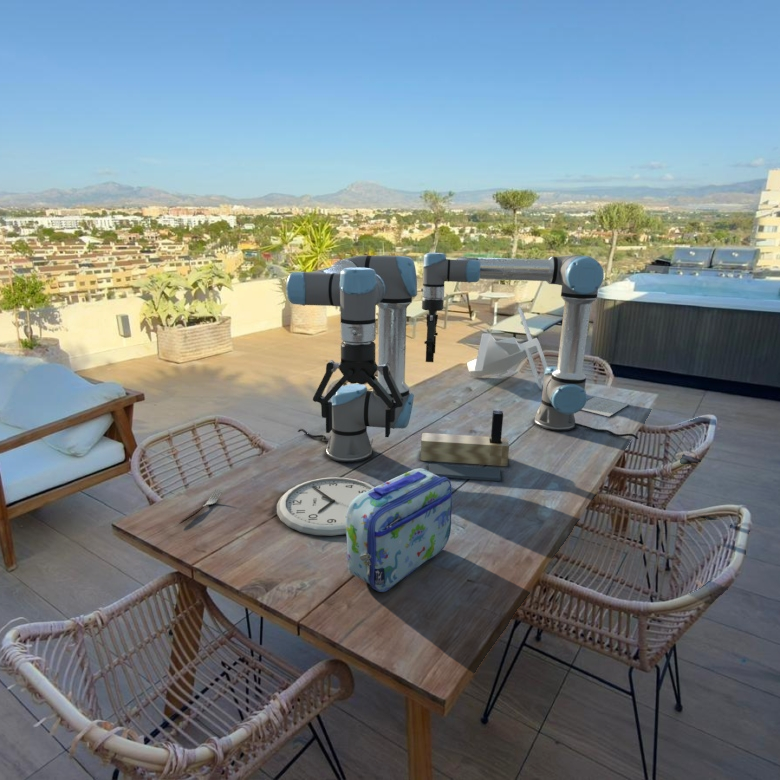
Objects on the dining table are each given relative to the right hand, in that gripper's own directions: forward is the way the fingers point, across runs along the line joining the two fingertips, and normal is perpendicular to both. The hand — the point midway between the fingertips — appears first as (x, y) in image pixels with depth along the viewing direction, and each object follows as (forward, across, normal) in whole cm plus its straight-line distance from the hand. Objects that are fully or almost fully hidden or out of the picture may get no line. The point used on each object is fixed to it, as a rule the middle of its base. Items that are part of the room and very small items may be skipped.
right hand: (430, 357), depth 189 cm
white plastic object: (+28, -68, +35) cm, 81 cm away
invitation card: (+28, -39, +73) cm, 87 cm away
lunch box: (+28, +85, -1) cm, 89 cm away
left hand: (0, +76, -13) cm, 77 cm away
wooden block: (+28, +24, +13) cm, 40 cm away
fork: (+28, +69, -56) cm, 93 cm away
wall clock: (+28, +61, -22) cm, 71 cm away
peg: (+28, +24, +23) cm, 44 cm away
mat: (+28, +36, +13) cm, 47 cm away
